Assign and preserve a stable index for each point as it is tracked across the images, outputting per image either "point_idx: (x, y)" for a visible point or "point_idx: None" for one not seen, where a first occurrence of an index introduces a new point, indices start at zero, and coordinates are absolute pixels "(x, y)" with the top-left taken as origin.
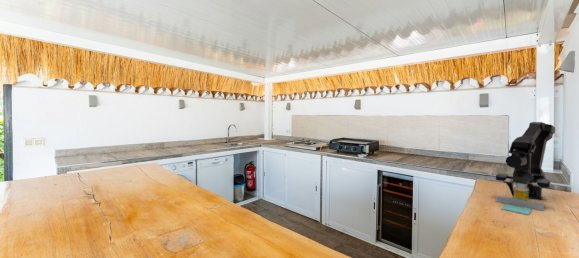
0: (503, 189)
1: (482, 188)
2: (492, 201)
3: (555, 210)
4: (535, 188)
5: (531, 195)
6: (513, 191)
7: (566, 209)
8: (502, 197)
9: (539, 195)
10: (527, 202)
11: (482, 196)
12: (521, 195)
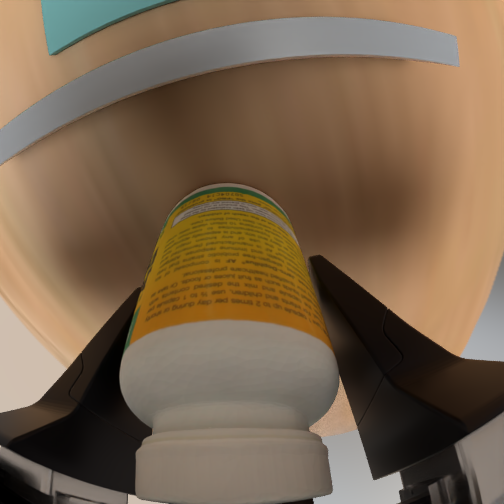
0: None
1: (460, 335)
2: (426, 21)
3: (14, 246)
4: (14, 410)
5: (109, 322)
6: (328, 316)
7: (33, 317)
8: (389, 24)
9: None
10: (62, 88)
11: (498, 148)
12: (187, 247)
